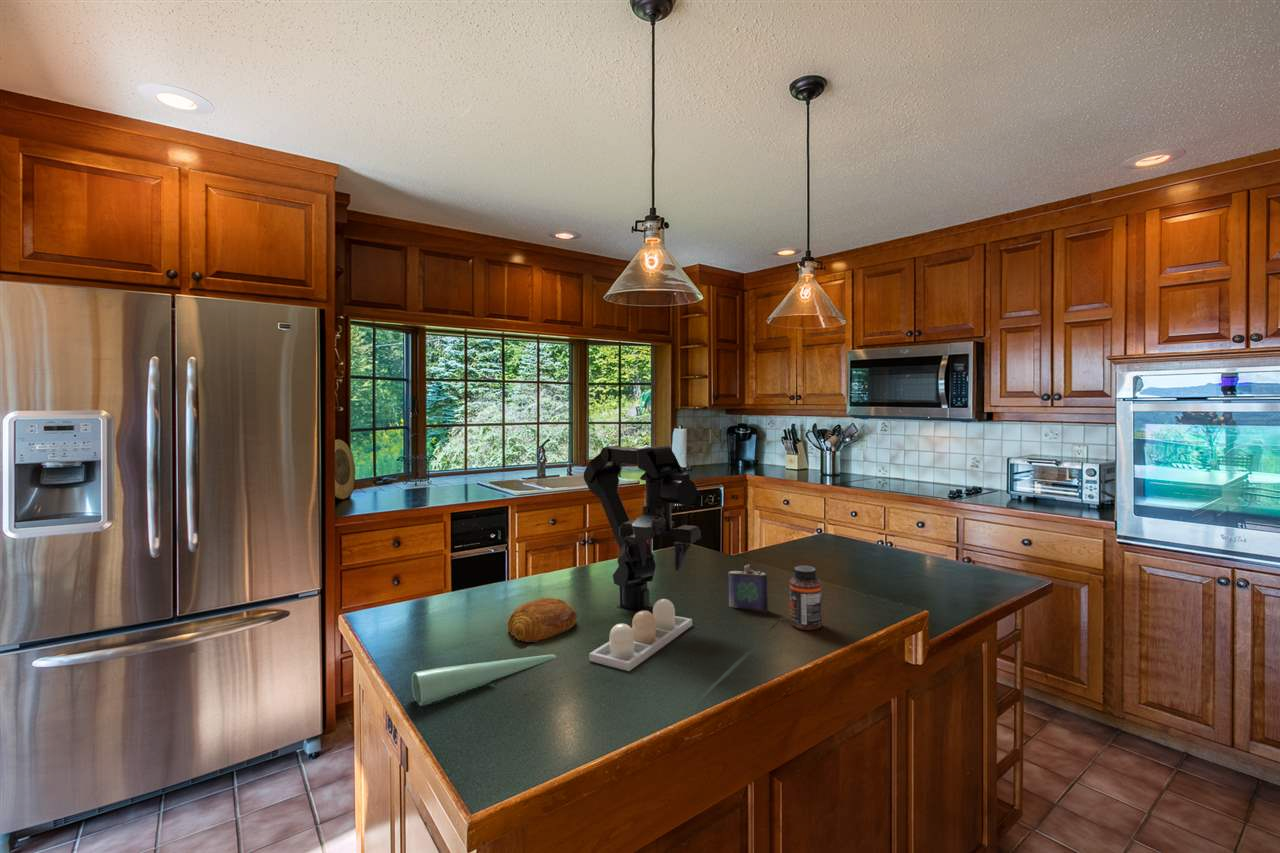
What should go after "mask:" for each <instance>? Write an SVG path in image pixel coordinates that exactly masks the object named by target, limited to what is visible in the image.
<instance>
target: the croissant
mask: <svg viewBox="0 0 1280 853" xmlns="http://www.w3.org/2000/svg"><path fill="white" fill-rule="evenodd" d="M577 618H578V615H577V611H575V609H574V608H573V607H572V605H570V604H568V603H567V602H566V601H564V600H562V599H561V598H552V597H541V598H538V599H535V600H532V601H528V602H526V603H524V604H522V605H520V606H518V607H517V608H515V609H514V610H513V612H512V613H511V615H510V617H509V619H508V621H507V627H508V628H507V632H508V631H509V632H510V633H509V632H508V633H509V634H511V633H512V634H513V635H514V636H515V637H514V636H513V635H512V636H513V637H514V638H515V639H516V638H517V639H516V640H518V641H520V640H522V641H521V642H523V641H525V642H535V643H537V642H539V641H542V640H545V639H549V638H552V637H555V636H556V635H557V636H558V635H560V634H562V633H564V632H567V631H569V630H571V629H572V628H573V627H574V626H575V625H576V623H577V621H578V620H577ZM525 642H524V643H525Z"/></svg>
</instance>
